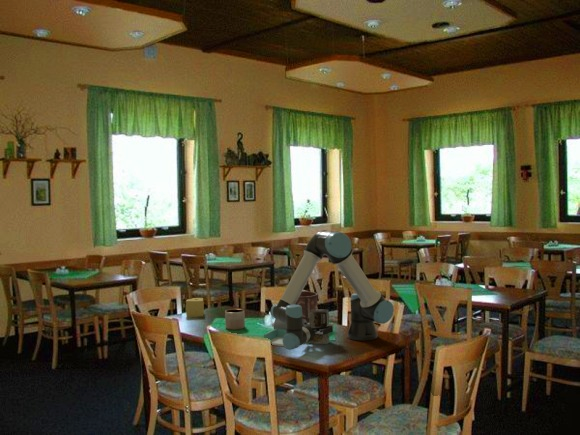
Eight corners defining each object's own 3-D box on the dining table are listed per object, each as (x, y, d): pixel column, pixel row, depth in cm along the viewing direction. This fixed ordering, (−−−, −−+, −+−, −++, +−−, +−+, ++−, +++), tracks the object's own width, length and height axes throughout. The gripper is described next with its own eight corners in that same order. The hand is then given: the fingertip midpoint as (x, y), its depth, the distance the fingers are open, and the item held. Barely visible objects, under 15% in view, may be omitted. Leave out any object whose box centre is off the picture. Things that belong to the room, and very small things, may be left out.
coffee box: (329, 341, 309) (329, 309, 308) (327, 344, 303) (327, 311, 302) (311, 340, 311) (311, 308, 310) (309, 343, 305) (308, 311, 304)
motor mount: (310, 335, 320) (310, 314, 319) (289, 347, 299) (289, 323, 298) (278, 332, 329) (278, 311, 328) (256, 343, 307) (255, 320, 307)
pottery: (307, 320, 356) (306, 289, 355) (324, 326, 340) (323, 294, 339) (280, 324, 347) (279, 293, 346) (296, 331, 332) (295, 298, 330)
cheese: (186, 314, 380) (186, 297, 379) (204, 313, 381) (204, 297, 381) (185, 317, 370) (185, 301, 369) (204, 316, 371) (203, 300, 370)
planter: (241, 330, 335) (241, 313, 334) (222, 329, 337) (222, 312, 336) (247, 325, 345) (246, 308, 345) (228, 325, 348) (228, 308, 347)
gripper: (282, 340, 296) (302, 329, 316) (325, 344, 285) (343, 334, 305) (282, 324, 295) (302, 315, 315) (325, 329, 285) (343, 319, 305)
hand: (322, 324), depth 310 cm, fingers closed on coffee box, 10 cm apart
